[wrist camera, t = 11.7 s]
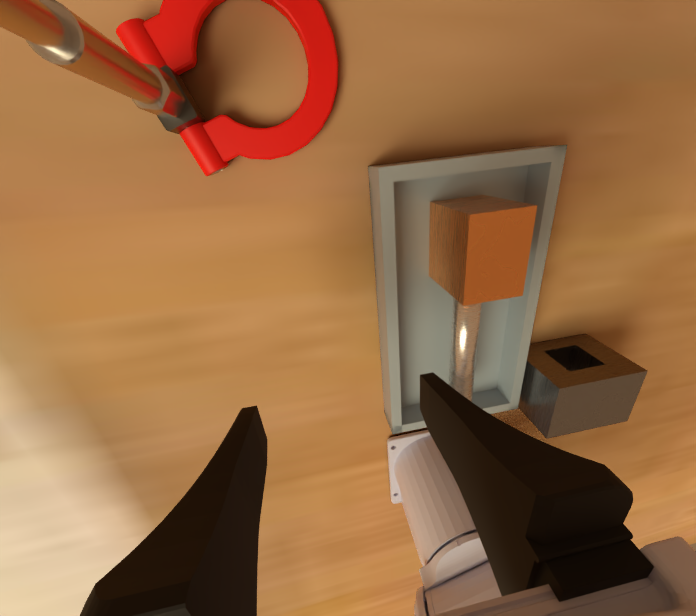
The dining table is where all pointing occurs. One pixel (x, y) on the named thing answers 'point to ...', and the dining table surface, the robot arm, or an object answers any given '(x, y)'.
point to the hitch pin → (477, 266)
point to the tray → (430, 298)
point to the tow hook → (181, 70)
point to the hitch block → (577, 385)
